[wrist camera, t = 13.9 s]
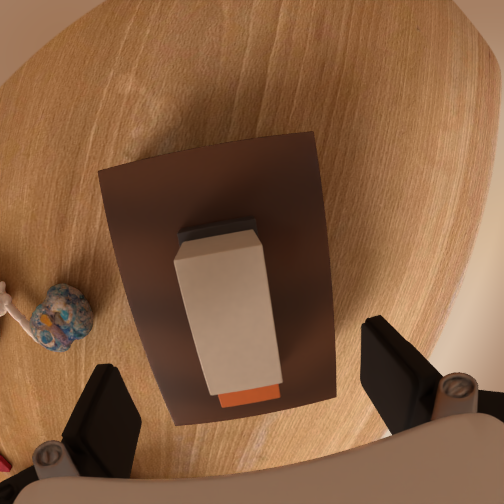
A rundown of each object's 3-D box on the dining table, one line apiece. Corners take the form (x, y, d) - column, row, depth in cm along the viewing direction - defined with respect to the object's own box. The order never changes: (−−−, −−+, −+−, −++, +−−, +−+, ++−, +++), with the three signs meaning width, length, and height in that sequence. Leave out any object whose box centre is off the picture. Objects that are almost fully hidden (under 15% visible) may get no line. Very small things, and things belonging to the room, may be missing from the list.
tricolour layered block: (179, 228, 17) (165, 249, 12) (253, 215, 17) (265, 231, 12) (216, 380, 19) (217, 429, 15) (277, 369, 19) (291, 416, 15)
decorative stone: (64, 268, 21) (90, 327, 20) (86, 277, 25) (110, 328, 24) (9, 307, 19) (32, 364, 19) (34, 311, 23) (56, 361, 23)
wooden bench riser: (127, 170, 21) (97, 171, 15) (289, 140, 22) (313, 131, 16) (181, 379, 26) (175, 426, 20) (315, 355, 26) (336, 397, 21)
